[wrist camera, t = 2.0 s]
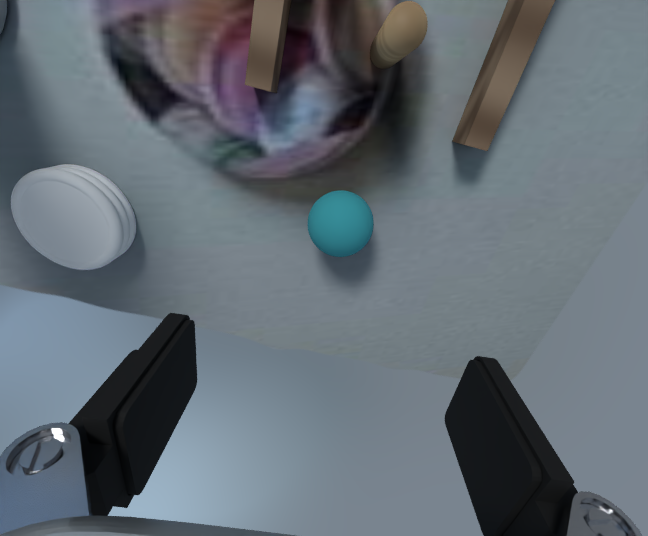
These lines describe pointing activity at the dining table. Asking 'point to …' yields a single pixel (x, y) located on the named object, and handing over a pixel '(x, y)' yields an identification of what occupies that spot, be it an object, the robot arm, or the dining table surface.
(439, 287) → the dining table surface
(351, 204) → the ball
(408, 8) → the pin
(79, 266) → the white stack of plates
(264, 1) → the pin alley
